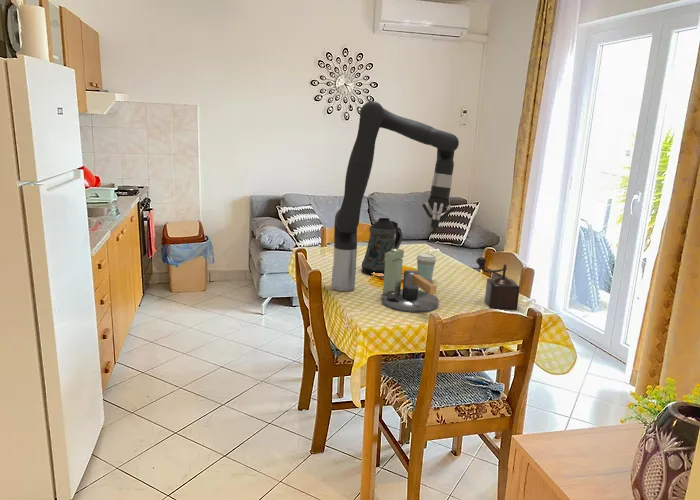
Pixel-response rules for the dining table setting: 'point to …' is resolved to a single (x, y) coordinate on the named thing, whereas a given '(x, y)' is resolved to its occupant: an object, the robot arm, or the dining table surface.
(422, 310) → the base
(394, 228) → the beer stein
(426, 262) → the coffee cup
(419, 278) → the wooden handled mallet
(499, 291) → the manual coffee grinder
